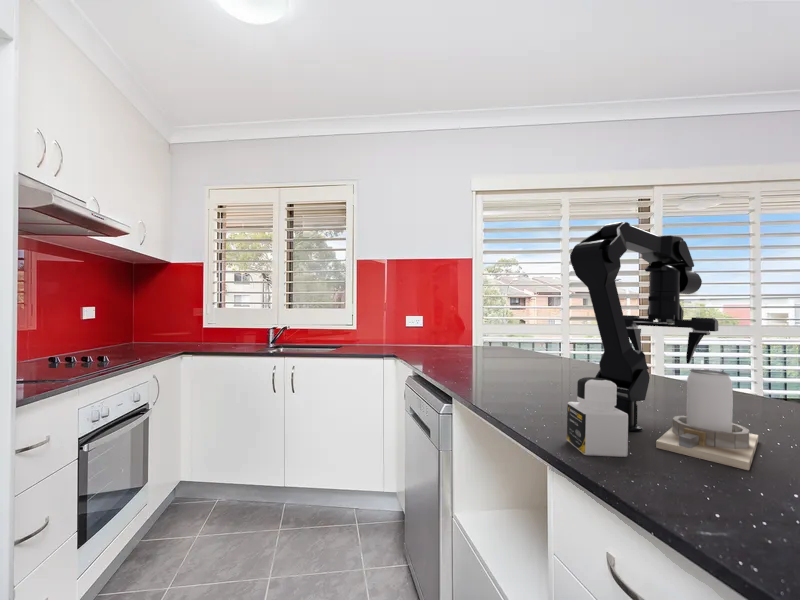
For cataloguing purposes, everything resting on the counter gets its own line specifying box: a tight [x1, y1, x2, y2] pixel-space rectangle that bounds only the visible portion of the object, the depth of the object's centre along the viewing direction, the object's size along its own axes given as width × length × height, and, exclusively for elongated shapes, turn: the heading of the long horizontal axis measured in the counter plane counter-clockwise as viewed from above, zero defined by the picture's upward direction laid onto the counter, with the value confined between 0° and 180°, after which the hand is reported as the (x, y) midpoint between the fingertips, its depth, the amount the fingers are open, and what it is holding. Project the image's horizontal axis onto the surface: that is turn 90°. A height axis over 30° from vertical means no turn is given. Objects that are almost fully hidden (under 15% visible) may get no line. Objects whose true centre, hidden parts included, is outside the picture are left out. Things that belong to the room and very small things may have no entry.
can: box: [686, 368, 734, 432], centre depth 69 cm, size 6×6×12 cm
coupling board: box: [655, 415, 759, 471], centre depth 69 cm, size 20×12×4 cm, turn 133°
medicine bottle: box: [566, 376, 629, 458], centre depth 65 cm, size 7×7×12 cm
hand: (663, 360), depth 86 cm, fingers open, 9 cm apart
